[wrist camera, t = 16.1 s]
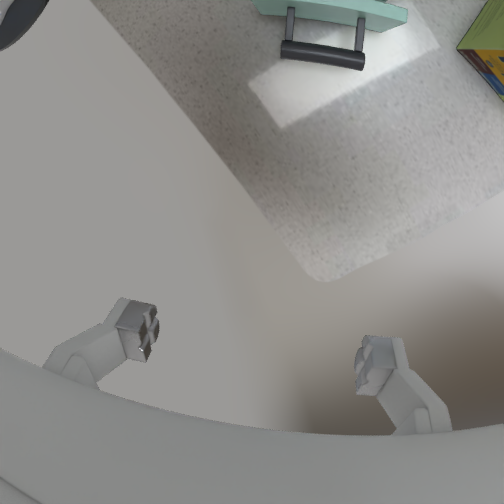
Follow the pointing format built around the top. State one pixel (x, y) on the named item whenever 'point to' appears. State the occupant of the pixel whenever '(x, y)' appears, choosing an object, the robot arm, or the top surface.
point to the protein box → (487, 45)
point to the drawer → (338, 11)
